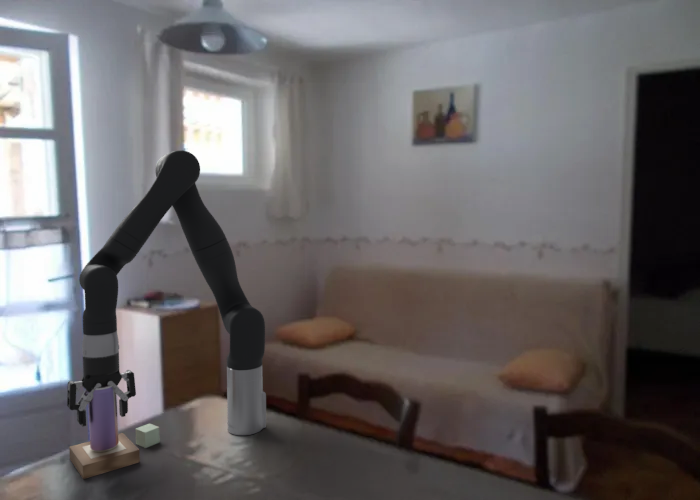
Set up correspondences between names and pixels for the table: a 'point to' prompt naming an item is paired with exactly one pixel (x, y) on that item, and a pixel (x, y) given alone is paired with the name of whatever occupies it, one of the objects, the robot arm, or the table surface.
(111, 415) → the beverage can
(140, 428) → the sage cube
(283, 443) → the table surface
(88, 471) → the walnut slab
